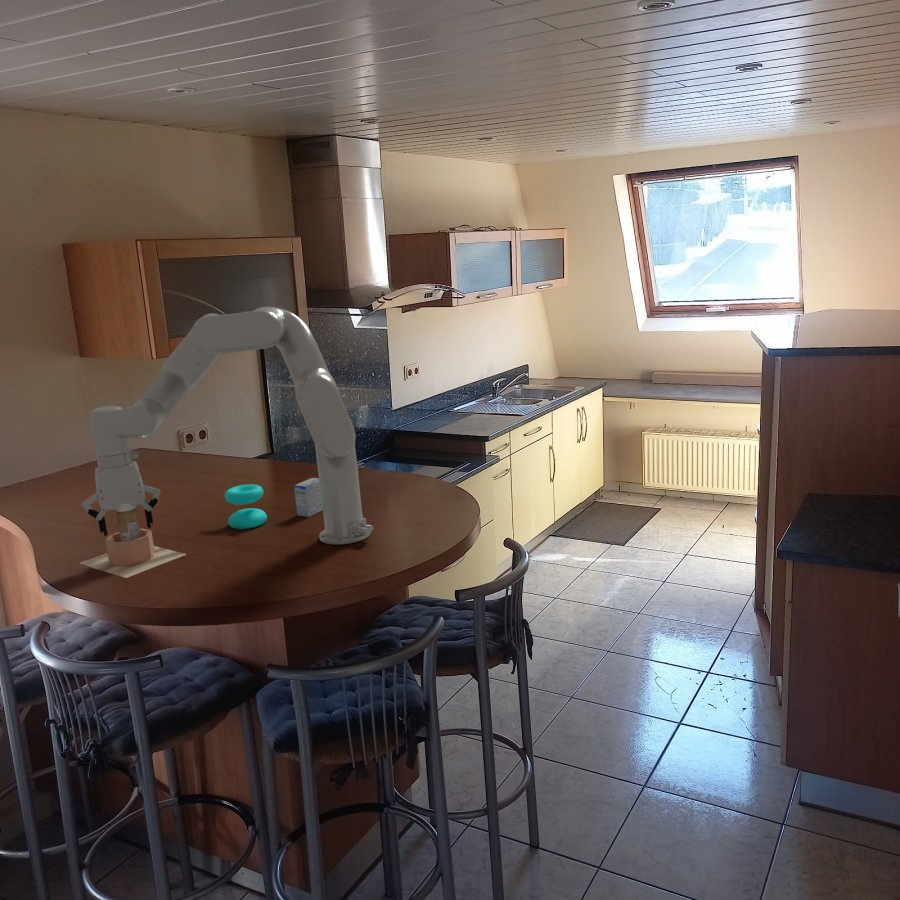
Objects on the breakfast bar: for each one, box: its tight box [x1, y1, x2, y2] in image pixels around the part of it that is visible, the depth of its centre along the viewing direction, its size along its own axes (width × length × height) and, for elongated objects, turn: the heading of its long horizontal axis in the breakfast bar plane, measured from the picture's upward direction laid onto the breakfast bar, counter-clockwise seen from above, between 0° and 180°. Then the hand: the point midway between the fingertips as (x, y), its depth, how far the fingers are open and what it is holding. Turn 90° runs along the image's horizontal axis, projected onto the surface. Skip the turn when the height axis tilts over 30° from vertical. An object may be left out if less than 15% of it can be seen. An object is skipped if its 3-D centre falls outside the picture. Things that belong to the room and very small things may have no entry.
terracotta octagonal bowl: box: [105, 528, 155, 566], centre depth 196 cm, size 10×10×6 cm
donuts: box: [224, 483, 268, 530], centre depth 220 cm, size 10×10×10 cm
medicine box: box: [293, 477, 323, 518], centre depth 226 cm, size 8×4×9 cm, turn 149°
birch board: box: [78, 545, 187, 579], centre depth 197 cm, size 20×16×2 cm
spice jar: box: [114, 504, 140, 542], centre depth 195 cm, size 5×5×14 cm
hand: (127, 530), depth 195 cm, fingers open, 9 cm apart
